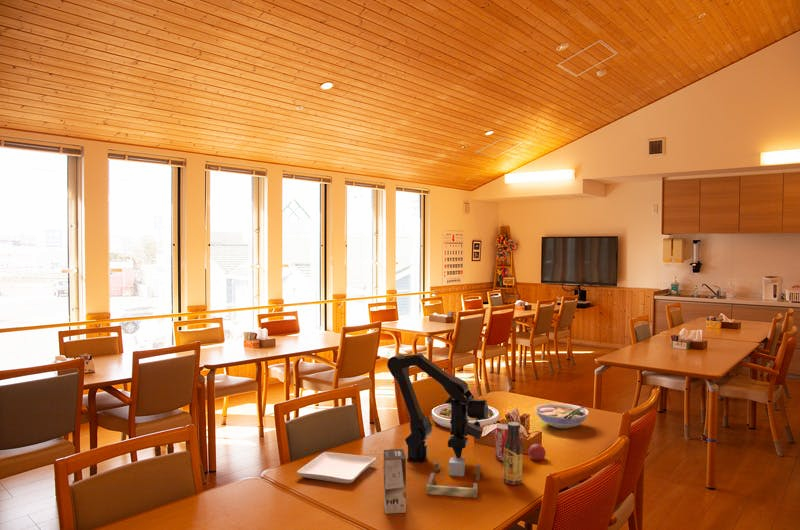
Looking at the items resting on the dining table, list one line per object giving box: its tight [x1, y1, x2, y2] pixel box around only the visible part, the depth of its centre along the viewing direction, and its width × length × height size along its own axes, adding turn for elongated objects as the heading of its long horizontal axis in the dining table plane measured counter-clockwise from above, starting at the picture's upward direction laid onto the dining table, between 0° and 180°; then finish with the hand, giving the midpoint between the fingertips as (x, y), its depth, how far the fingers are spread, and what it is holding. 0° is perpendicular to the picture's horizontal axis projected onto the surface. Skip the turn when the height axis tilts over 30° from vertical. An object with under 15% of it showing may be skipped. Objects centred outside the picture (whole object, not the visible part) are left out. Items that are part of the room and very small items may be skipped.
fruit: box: [527, 443, 547, 462], centre depth 212 cm, size 6×6×8 cm
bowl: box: [431, 403, 500, 430], centre depth 259 cm, size 30×30×8 cm
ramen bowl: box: [534, 402, 590, 430], centre depth 251 cm, size 25×23×8 cm
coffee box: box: [383, 448, 407, 515], centre depth 173 cm, size 9×6×16 cm
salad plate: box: [296, 451, 377, 484], centre depth 200 cm, size 21×21×3 cm
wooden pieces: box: [426, 460, 481, 499], centre depth 191 cm, size 16×22×2 cm
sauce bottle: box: [502, 421, 524, 486], centre depth 190 cm, size 6×6×20 cm
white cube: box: [448, 457, 466, 477], centre depth 199 cm, size 5×5×4 cm
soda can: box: [494, 423, 508, 462], centre depth 213 cm, size 7×7×12 cm
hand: (459, 459), depth 206 cm, fingers closed
